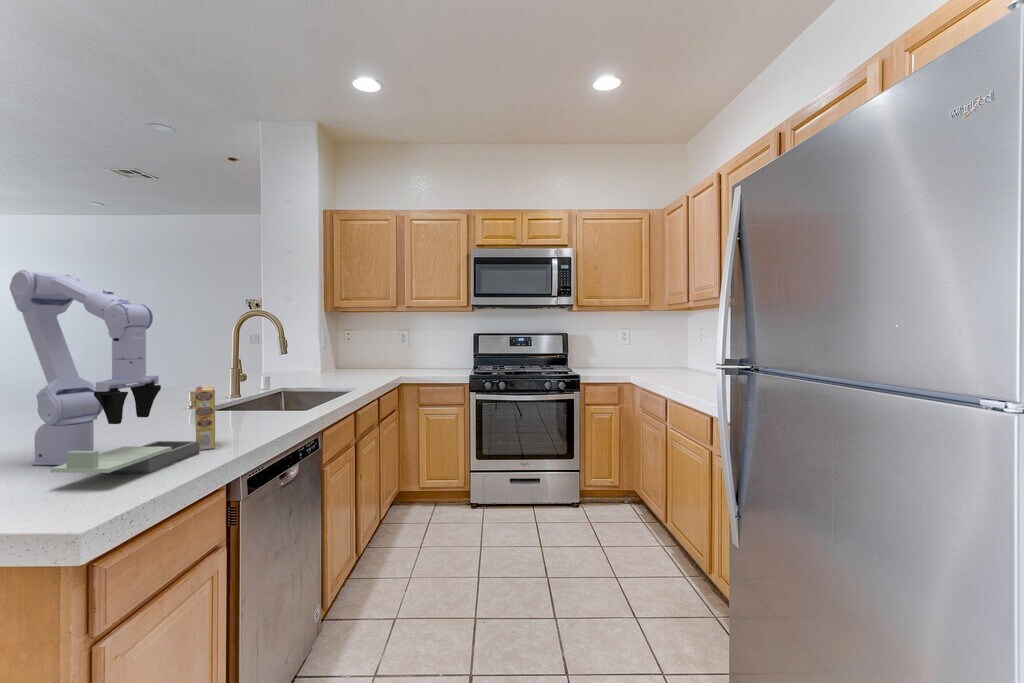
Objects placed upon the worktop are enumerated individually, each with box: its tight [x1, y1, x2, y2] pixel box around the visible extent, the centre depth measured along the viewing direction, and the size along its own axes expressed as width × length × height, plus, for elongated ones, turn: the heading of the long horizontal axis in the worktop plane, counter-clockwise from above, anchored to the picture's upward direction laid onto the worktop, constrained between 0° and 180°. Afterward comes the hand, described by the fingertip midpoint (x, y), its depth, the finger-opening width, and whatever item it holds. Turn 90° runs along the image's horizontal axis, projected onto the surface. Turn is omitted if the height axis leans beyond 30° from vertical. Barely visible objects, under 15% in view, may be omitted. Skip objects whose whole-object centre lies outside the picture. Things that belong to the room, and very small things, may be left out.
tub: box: [109, 440, 200, 475], centre depth 103 cm, size 10×16×3 cm, turn 1°
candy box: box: [194, 385, 216, 451], centre depth 118 cm, size 9×4×15 cm, turn 33°
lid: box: [50, 445, 172, 474], centre depth 93 cm, size 11×16×4 cm, turn 2°
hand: (129, 420), depth 100 cm, fingers open, 7 cm apart
